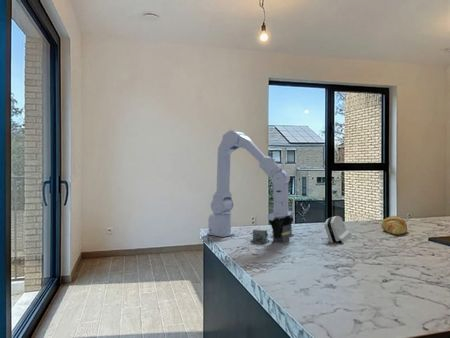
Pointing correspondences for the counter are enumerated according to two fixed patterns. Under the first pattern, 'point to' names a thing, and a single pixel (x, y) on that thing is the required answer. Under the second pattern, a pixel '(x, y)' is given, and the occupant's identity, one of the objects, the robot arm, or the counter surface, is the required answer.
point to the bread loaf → (394, 225)
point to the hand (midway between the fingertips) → (281, 236)
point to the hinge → (336, 229)
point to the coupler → (283, 233)
